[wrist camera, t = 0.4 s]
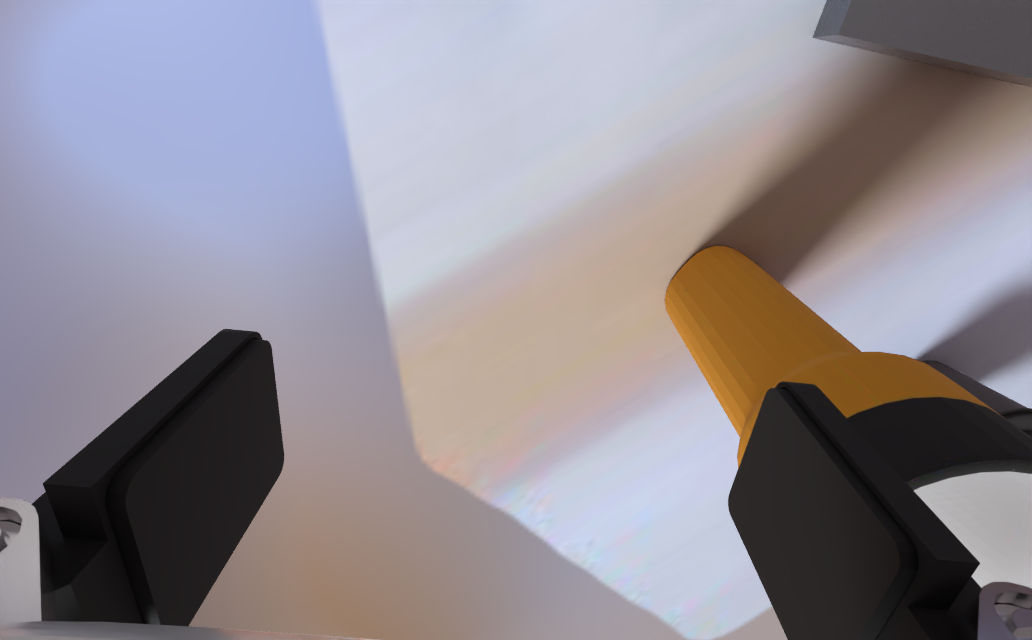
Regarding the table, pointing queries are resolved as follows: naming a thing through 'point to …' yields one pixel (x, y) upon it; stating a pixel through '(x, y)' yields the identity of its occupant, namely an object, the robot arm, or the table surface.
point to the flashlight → (863, 403)
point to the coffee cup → (990, 398)
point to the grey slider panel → (939, 33)
